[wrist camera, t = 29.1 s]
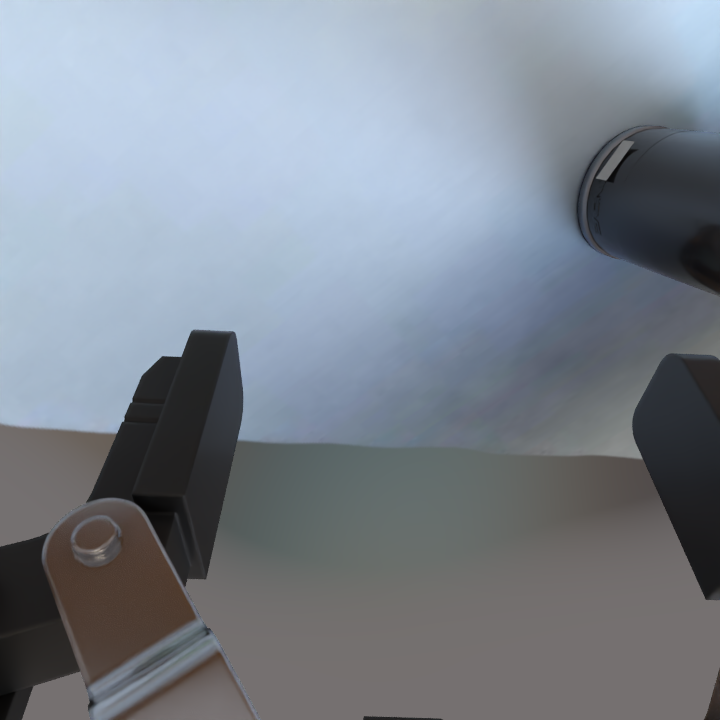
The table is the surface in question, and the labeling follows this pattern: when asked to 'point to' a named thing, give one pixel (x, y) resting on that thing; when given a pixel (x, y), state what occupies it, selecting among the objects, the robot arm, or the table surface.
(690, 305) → the table surface
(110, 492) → the robot arm
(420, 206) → the table surface
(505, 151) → the table surface
